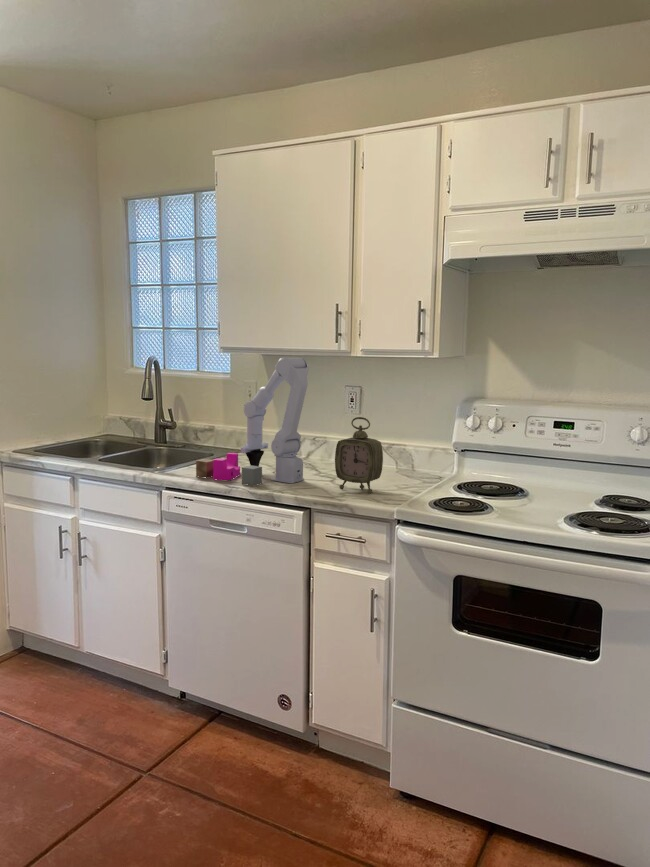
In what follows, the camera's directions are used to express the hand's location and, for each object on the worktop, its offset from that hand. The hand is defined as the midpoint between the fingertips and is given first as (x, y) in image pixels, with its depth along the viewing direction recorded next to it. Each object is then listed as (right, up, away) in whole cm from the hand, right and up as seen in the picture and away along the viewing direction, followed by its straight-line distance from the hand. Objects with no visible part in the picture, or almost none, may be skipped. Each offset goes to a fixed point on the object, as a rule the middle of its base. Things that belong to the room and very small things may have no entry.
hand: (254, 469), depth 249 cm
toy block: (-9, -3, -6) cm, 11 cm away
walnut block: (-17, -2, -7) cm, 18 cm away
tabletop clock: (+38, -6, -23) cm, 45 cm away
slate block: (+1, -4, -17) cm, 18 cm away
